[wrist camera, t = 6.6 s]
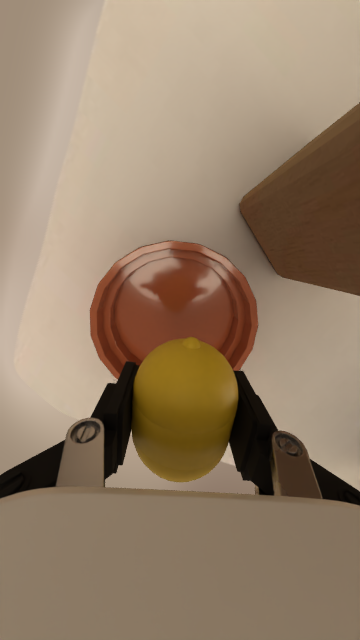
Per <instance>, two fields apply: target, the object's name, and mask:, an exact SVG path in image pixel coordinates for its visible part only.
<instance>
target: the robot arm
mask: <svg viewBox="0 0 360 640" xmlns="http://www.w3.org/2000/svg"><path fill="white" fill-rule="evenodd" d="M138 369H139V365H136V362H128V361H126V363H125V365H124V367H123V369H122V372H121V374H120V376H119V378H118V381H117V383H116V384H115V383H108V384H107V386H106V388H105V390H104V392H103V394H102V396H101V398H100V400H99V402H98V404H97V406H96V408H95V410H94V412H93V413H92V415H91V417H90V418H85V419H82V420H80V421H78V422H76V423H75V424H73V425H72V426H71V427H70V428H69V430H68V432H67V434H66V439H65V440H64V441H62V442H60V443H58V444H57V445H55V446H53V447H51V448H49V449H47V450H45V451H43V452H41V453H40V454H38V455H36V456H34V457H32V458H30V459H28V460H27V461H25V462H23V463H21V464H19V465H17V466H15V467H14V468H12V469H10V470H8V471H6V472H4V473H3V474H1V475H0V640H360V492H359V491H358V490H357V489H355V488H354V487H352V486H351V485H349V484H348V483H346V482H345V481H343V480H341V479H340V478H338V477H337V476H335V475H334V474H332V473H331V472H329V471H328V470H326V469H325V468H323V467H322V466H320V465H319V464H317V463H315V462H314V461H312V460H311V459H309V455H308V452H307V450H306V448H305V446H304V444H303V443H302V442H301V441H300V440H299V439H298V438H297V437H296V436H294V435H292V434H290V433H288V432H285V431H278V429H277V427H276V426H275V424H274V422H273V420H272V419H271V417H270V415H269V413H268V411H267V410H266V408H265V406H264V404H263V403H262V401H261V399H260V397H259V396H258V395H256V394H255V392H254V390H253V388H252V386H251V385H250V383H249V381H248V379H247V377H246V376H245V374H244V372H243V371H235V370H233V372H234V374H235V377H236V380H237V385H238V405H237V411H236V415H235V419H234V423H233V427H232V431H231V435H230V439H229V443H230V447H231V450H232V454H233V458H234V461H235V465H236V468H237V471H238V472H241V475H242V478H243V480H247V481H252V482H253V483H254V484H255V495H251V494H234V493H215V492H196V491H175V490H154V489H130V488H106V487H105V479H106V478H108V477H109V476H110V475H112V474H113V473H116V472H117V468H118V465H123V461H124V457H125V453H126V449H127V445H128V441H129V437H130V433H131V420H132V395H133V386H134V380H135V376H136V374H137V371H138Z"/></svg>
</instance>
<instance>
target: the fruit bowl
mask: <svg viewBox="0 0 360 640" xmlns="http://www.w3.org/2000/svg"><path fill="white" fill-rule="evenodd" d="M257 328H258V317H257V306H256V300H255V297H254V295H253V293H252V291H251V289H250V286H249V284H248V282H247V280H246V278H245V276H244V275H243V274H242V273H241V272H240V271H239V270H238V269H237V268H236V267H235V266H234V265H233V264H232V263H231V262H230V261H229V260H228V259H227V258H226V257H225V256H223V255H221V254H219V253H217V252H215V251H213V250H211V249H209V248H207V247H205V246H202V245H200V244H195V243H187V242H178V241H165V242H160V243H156V244H151V245H147V246H142V247H139V248H138V249H136V250H135V251H133V252H131V253H130V254H128V255H127V256H125V257H123V258H122V259H120V260H119V261H117V262H116V263H114V265H113V266H112V267H111V269H110V270H109V271H108V272H107V274H106V275H105V276H104V278H103V279H102V280H101V281H100V283H99V284H98V286H97V289H96V292H95V295H94V299H93V302H92V305H91V308H90V329H91V338H92V340H93V343H94V345H95V348H96V351H97V353H98V356H99V358H100V360H101V361H102V362H103V363H104V364H105V366H106V367H107V368H108V369H109V371H110V372H111V373H112V374H113V376H114V377H115V378H117V379H118V378H119V376H120V374H121V372H122V369H123V367H124V365H125V363H126V361H128V362H136V365H139V367H140V365H141V363H142V362H143V360H144V359H145V358H146V356H147V355H148V354H149V353H150V352H152V351H153V350H154V349H155V348H156V347H158V346H160V345H162V344H164V343H166V342H168V341H171V340H176V339H185V338H188V337H195V338H197V339H198V340H199V341H202V342H204V343H207V344H209V345H211V346H212V347H214V348H215V349H217V350H218V351H219V352H220V353H221V354H222V355H223V356H224V357H225V358H226V360H227V361H228V363H229V364H230V366H231V367H232V369H233V370H235V371H239V370H240V369H241V367H242V365H243V364H244V362H245V360H246V359H247V357H248V356H249V354H250V352H251V351H252V349H253V345H254V341H255V337H256V332H257Z"/></svg>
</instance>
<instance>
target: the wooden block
mask: <svg viewBox="0 0 360 640" xmlns="http://www.w3.org/2000/svg"><path fill="white" fill-rule="evenodd" d="M239 205H240V210H241V213H242V215H243V216H244V218H245V220H246V221H247V223H248V225H249V227H250V228H251V230H252V232H253V233H254V235H255V237H256V238H257V240H258V242H259V243H260V245H261V247H262V248H263V250H264V252H265V253H266V255H267V257H268V258H269V260H270V262H271V263H272V265H273V267H274V269H275V270H276V272H277V274H279V275H280V276H282V277H284V278H288V279H292V280H296V281H300V282H304V283H309V284H313V285H317V286H321V287H325V288H330V289H334V290H338V291H342V292H346V293H350V294H355V295H359V296H360V103H359V104H357V105H356V106H355V107H354V108H352V109H351V110H350V111H349V112H347V113H346V114H345V115H344V116H342V117H341V118H340V119H338V120H337V121H336V122H335V123H333V124H332V125H331V126H330V127H328V128H327V129H326V130H325V131H323V132H322V133H321V134H320V135H318V136H317V137H316V138H315V139H313V140H312V141H311V142H310V143H308V144H307V145H306V146H305V147H304V148H302V149H301V150H300V151H299V152H297V153H296V154H295V155H294V156H293V157H291V158H290V159H289V160H288V161H286V162H285V163H284V164H283V165H282V166H280V167H279V168H278V169H277V170H275V171H274V172H273V173H272V174H271V175H269V176H268V177H267V178H266V179H264V180H263V181H262V182H261V183H260V184H258V185H257V186H256V187H255V188H253V189H252V190H251V191H250V192H249V193H247V194H246V195H245V196H244V197H243V199H242V200H241V202H240V204H239Z"/></svg>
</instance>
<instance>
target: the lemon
mask: <svg viewBox="0 0 360 640" xmlns="http://www.w3.org/2000/svg"><path fill="white" fill-rule="evenodd" d="M237 405H238V385H237V380H236V377H235V374H234V372H233V369H232V367H231V366H230V364H229V363H228V361H227V360H226V358H225V357H224V356H223V355H222V354H221V353H220V352H219V351H218V350H217V349H215V348H214V347H212V346H211V345H209V344H207V343H204V342H202V341H199V340H198V339H197V338H195V337H188V338H185V339H176V340H171V341H168V342H166V343H164V344H162V345H160V346H158V347H156V348H155V349H154V350H153V351H152V352H150V353H149V354H148V355H147V356H146V358H145V359H144V360H143V362H142V363H141V365H140V367H139V369H138V371H137V374H136V376H135V380H134V386H133V395H132V420H131V429H132V437H133V443H134V445H135V448H136V451H137V453H138V455H139V457H140V459H141V460H142V461H143V463H144V464H145V465H146V466H147V467H148V468H149V469H150V470H151V471H152V472H153V473H155V474H156V475H158V476H159V477H161V478H164V479H166V480H168V481H174V482H189V481H192V480H196V479H198V478H201V477H202V476H204V475H206V474H208V473H209V472H210V471H211V470H212V469H213V468H214V467H215V466H216V465H217V464H218V463H219V461H220V460H221V458H222V457H223V455H224V453H225V451H226V448H227V446H228V442H229V439H230V435H231V431H232V427H233V423H234V419H235V415H236V411H237Z"/></svg>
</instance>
